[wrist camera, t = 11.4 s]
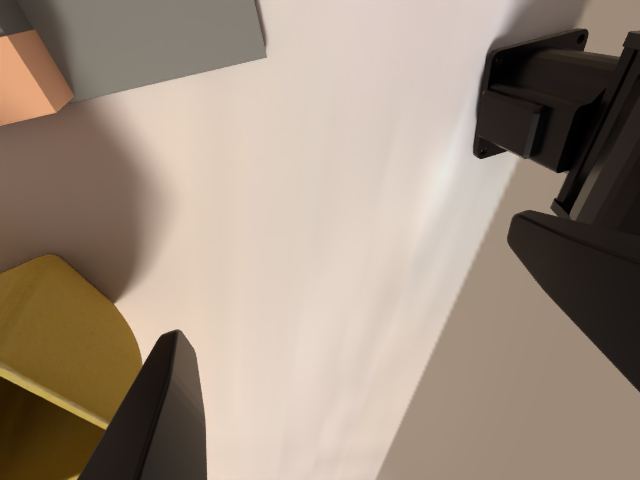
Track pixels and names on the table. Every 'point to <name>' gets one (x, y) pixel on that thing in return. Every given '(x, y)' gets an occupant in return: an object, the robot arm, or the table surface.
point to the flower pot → (58, 369)
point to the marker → (26, 70)
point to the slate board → (142, 40)
